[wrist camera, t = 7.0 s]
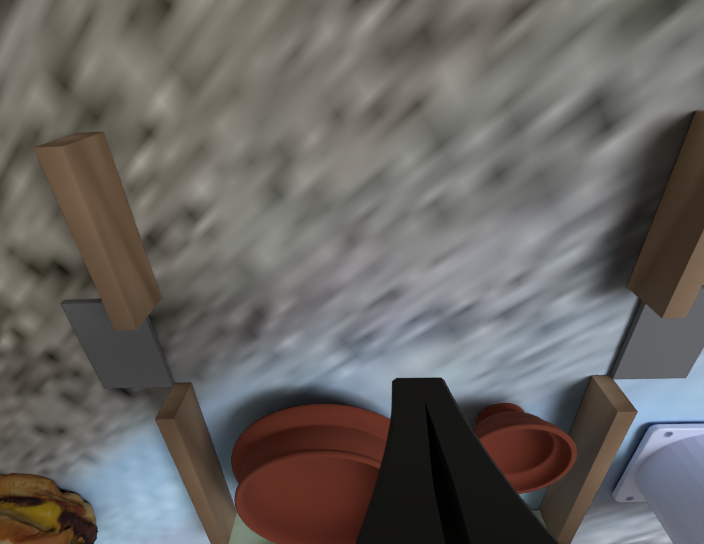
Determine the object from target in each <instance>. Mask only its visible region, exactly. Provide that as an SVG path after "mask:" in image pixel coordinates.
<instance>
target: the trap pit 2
mask: <svg viewBox="0 0 704 544" xmlns="http://www.w3.org/2000/svg"><path fill="white" fill-rule="evenodd" d="M703 348H704V285H702V287H701V289H700V291H699V293H698V295H697V297H696V299H695V301H694V303H693V305H692V307H691V309H690V310H689V312H688V314H687V316H686V318H661V317H660V316H659V315H658V314H656V313H655V312H654V311H653V310H652V309H651V308H650V307H649V306H648V305H646V304H645V303H644V302H643V301H641V304H640V306H639V308H638V311H637V313H636V315H635V318H634V320H633V323H632V325H631V327H630V330H629V332H628V334H627V337H626V339H625V341H624V344H623V346H622V348H621V351H620V353H619V355H618V358H617V360H616V362H615V365H614V367H613V369H612V372H611V374H610V376H611V377H612V379H662V378H686V377H687V376H688V374H689V372H690V370H691V369H692V367H693V365H694V363H695V362H696V360H697V358H698V356H699V355H700V353H701V351H702V349H703Z"/></svg>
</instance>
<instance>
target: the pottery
mask: <svg viewBox="0 0 704 544" xmlns="http://www.w3.org/2000/svg"><path fill="white" fill-rule="evenodd" d="M476 424H477V425H476V427H475V428H474V429H473V431H474V433H475V434H476V436H477V437H478V439H479V440H480V442H481V443H482V445H483V446H484V448H485V449H486V451H487V452H488V454H489V455H490V456H491V458H492V459H493V461H494V462H495V463H496V465H497V466H498V468H499V469H500V470H501V472H502V473H503V474H504V476H505V477H506V478H507V480H508V481H509V482H510V484H511V485H512V486H513V488H514V489H515V490H516V492H517V493H518V494H522V493H527V492H532V491H535V490H538V489H541V488H544V487H546V486H548V485H551V484H552V483H554V482H556V481H558V480H559V479H560V478H562V477H563V476H564V475H565V474H566V473H567V472H568V471H569V470H570V469H571V468H572V466H573V465H574V463H575V460H576V457H577V449H576V445H575V443H574V441H573V440H572V439H571V437H570V436H569V435H567V434H566V433H565V432H564V431H562V430H561V429H560V428H559V427H557V426H555V425H554V424H552V423H549V422H547V421H544V420H542V419H540V418H539V417H537V416H534V415H532V414H529V413H525V412H524V411H523V409H522V408H520V407H519V406H517V405H515V404H510V403H499V404H495V405H492V406H489V407H487V408H485V409H484V410H483V411H481V412H480V414H479V415H478V417H477V419H476ZM389 426H390V419H388V418H386V417H384V416H382V415H380V414H377V413H375V412H372V411H369V410H365V409H362V408H357V407H353V406H347V405H338V404H309V405H301V406H295V407H290V408H286V409H283V410H279V411H276V412H274V413H271V414H269V415H267V416H265V417H263V418H261V419H259V420H257V421H256V422H254V423H253V424H252V425H250V426H249V427H248V428H247V429H246V430H245V431H244V432H243V433H242V434H241V435H240V437H239V438H238V440H237V441H236V443H235V445H234V448H233V451H232V457H231V464H232V470H233V473H234V476H235V478H236V480H237V482H238V483H239V485H238V487H237V489H236V492H235V507H236V510H237V513H238V515H239V517H240V518H241V520H242V521H243V522H244V523H245V524H246V526H247V527H249V528H250V529H251V530H252V531H253V532H255V533H256V534H258V535H259V536H261V537H263V538H265V539H267V540H269V541H271V542H273V543H276V544H355V542H356V540H357V537H358V534H359V532H360V529H361V526H362V524H363V521H364V518H365V515H366V512H367V509H368V506H369V503H370V500H371V497H372V494H373V490H374V487H375V484H376V480H377V477H378V473H379V469H380V466H381V462H382V458H383V454H384V450H385V446H386V441H387V436H388V431H389Z"/></svg>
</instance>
